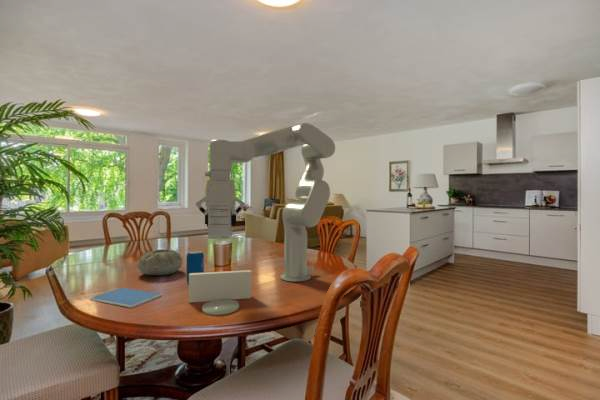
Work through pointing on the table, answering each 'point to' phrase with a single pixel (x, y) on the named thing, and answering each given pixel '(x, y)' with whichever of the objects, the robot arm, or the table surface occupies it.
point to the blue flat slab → (126, 297)
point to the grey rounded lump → (160, 262)
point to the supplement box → (219, 220)
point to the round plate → (220, 307)
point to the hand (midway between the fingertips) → (220, 225)
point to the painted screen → (219, 285)
